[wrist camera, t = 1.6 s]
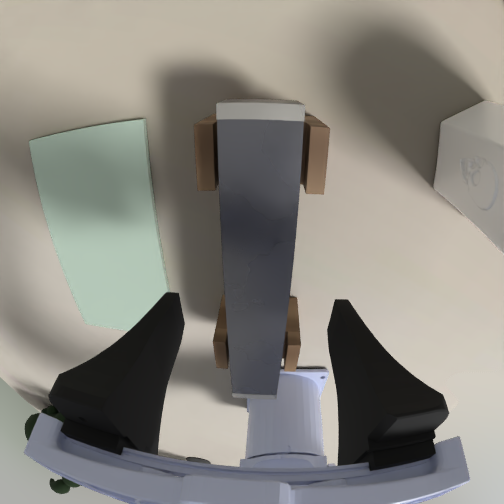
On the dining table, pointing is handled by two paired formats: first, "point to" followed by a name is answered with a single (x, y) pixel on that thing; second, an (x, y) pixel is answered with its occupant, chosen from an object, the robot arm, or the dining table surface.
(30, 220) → the dining table surface
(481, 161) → the jar
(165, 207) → the dining table surface
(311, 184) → the post
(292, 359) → the post
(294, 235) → the rail
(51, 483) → the toy figurine
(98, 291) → the mat
